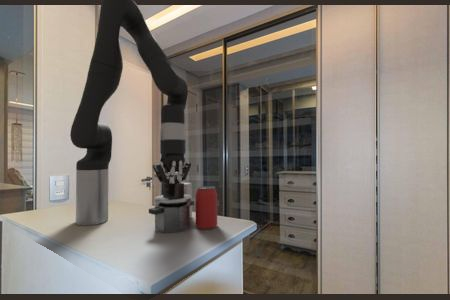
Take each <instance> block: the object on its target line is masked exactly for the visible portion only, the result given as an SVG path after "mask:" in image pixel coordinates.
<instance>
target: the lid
mask: <svg viewBox="0 0 450 300" xmlns="http://www.w3.org/2000/svg"><path fill="white" fill-rule="evenodd" d="M184 183H185V182H181V183H177V182H174V181H173V183H172V184H173V196H172V197H168V196H167V195H166V185H165V183H163V182H162V190H163V191H162V195H157V196H155V197H154V198H153V202H154V203H155V204H157V203H160V204H178V203H185V202H189V201H191V200H192V201H193V195H192V196H191V195H186V194H184Z"/></svg>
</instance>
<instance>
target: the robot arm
mask: <svg viewBox="0 0 450 300" xmlns="http://www.w3.org/2000/svg"><path fill="white" fill-rule="evenodd" d="M98 19H99V20H98V27H97V34H96V39H95V43H94V47H93V52H92V54H91V55H92V56H91V59H90V63H89V66H88V71H87V77H86V81H85V84H84V88H83V92H82V96H81V100H80V103H79V106H78V108H77V111H76V114H75V117H74V118H73V122H72V124H71V128H70V135H69V136H70V141H71V143H72V145H74V147H76V148H78V149H86V154H85V156H84V157H82V158H81V159H78V160H77V161H76V166H75V171H76V173H75V180H76V181H75V183H76V185H75V189H76V190H75V193H76V194H75V224H76V225H77V226H93V225H98V224H102V223H105V222H107V221H108V220H109V166H110V163H111V160H112V151H113V150H112V148H113V147H112V146H113V133H112V130H111V128H110V126H109V125H108V124H106V123H104V122H100V117H101V112H102V109H103V107H104V106H105V104H106V102H108V101H109V99H110V98H111V97H112V96H113V94H115V93H116V91H117V89H118V87H119V85H120V82H121V78H122V74H123V69H124V65H123V64H124V61H123V56H122V55H123V54H122V52H121V51H122V49H121V45H120V43H121V42H120V31H121V28H123V29H124V31H126V32H127V33H128V34H129V35H130V37H131V38H132V39H133V40H134V42H135V44H136V48H137V52H138V54H139V56H140V58H141V60H142V61H143V63H144V64H145V66H146V67H147V70H149V72H150V75H151V77H152V79H153V83H154V84H155V86H156V88H157V89H158V90H159V92H161V93H162V94H163V95H165V96H167V101H166V103H165V104H163V105H162V106H161V111H160V130H159V131H160V134H159V135H160V137H159V140H160V141H159V143H160V151H159V153H160V154H161V157H160V161H159V162H157V163H154V164H153V165H152V168H153V170H154V173H155V175H156V177H157V178H158V181H159V182H160V183H162V184H163V183H165V185H166V195H167V196H168V197H172V196H173V184H172V183H173V182H177V183H183V181H186V180H187V176H188V175H189V172H190V169H191V166H192V163H191V162H187V161H186V158H185V154H186V152H187V151H186V148H187V147H186V125H185V118H186V117H185V116H186V114H185V110H186V106H187V102H188V94H189V89H188V84H187V82H186V80H185V79H184V78H183V77H181V76H180V75H179V74H177V72H176V71H175V70H174V69H173V68H172V65H171V61H170V59H169V57H168V56H167V54H166V53H165V51H164V50H163V48H162V47H161V46H160V44H159V42H158V41H157V40H156V38H155V37H154V35H153V33H152V32H151V30H150V28H149V26H148V25H147V22H146V19H145V17H144V16H143V13H142V11H141V8H140V7H139V4H138V3H137V2H136V1H134V0H101V3H100V10H99V17H98Z"/></svg>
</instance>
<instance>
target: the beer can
mask: <svg viewBox="0 0 450 300" xmlns="http://www.w3.org/2000/svg"><path fill="white" fill-rule="evenodd" d="M196 188H197V190H196V191H195V192H196V193H195V227H197V229H200V230H211V229H214V228H216V227H218V191H217V189H216V186H212V185H203V186H202V185H201V186H198V187H196Z"/></svg>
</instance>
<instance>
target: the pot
mask: <svg viewBox="0 0 450 300" xmlns="http://www.w3.org/2000/svg"><path fill="white" fill-rule="evenodd" d="M194 205H195V201H194V200H192V201H189V202H185V203H178V204H160V203H155V206H154V207H151V208H148V214H151V215H154V231H156V232H159V233H162V234H173V233H174V234H175V233H177V234H179V233H181V232H185V231H186V230H187V231H188V230H190V229H191V228H190V226H191V217H190V206H192V207H193V206H194Z"/></svg>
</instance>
